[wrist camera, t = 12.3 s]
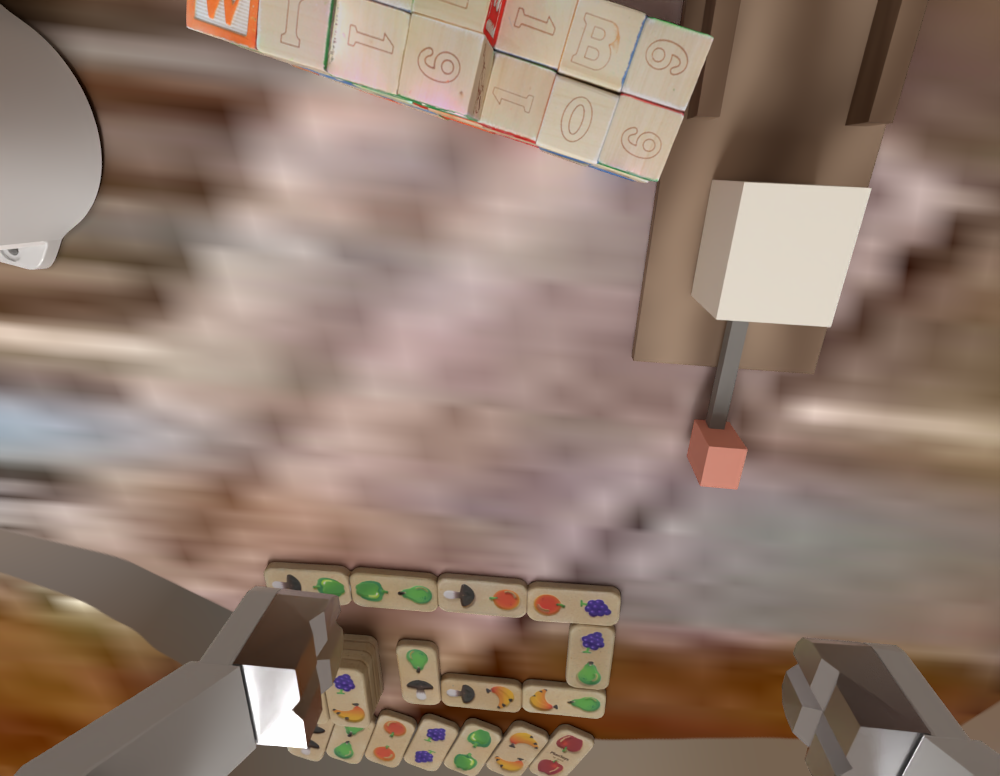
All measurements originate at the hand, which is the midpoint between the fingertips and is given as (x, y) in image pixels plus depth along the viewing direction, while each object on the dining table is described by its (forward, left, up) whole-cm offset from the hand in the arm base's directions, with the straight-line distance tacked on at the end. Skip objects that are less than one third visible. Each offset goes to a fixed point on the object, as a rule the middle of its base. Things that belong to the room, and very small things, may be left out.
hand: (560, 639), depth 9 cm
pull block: (+11, -2, -28) cm, 30 cm away
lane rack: (+11, +10, -29) cm, 33 cm away
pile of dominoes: (-9, -39, -30) cm, 50 cm away
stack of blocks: (-6, +13, -30) cm, 33 cm away
